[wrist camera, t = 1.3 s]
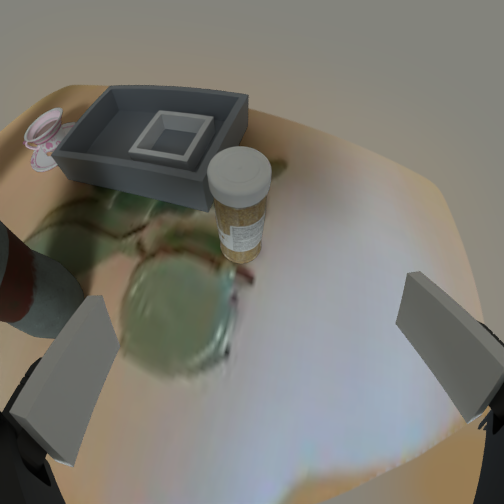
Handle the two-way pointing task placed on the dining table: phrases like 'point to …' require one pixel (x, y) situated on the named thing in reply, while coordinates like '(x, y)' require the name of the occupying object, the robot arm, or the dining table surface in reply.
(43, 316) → the vodka
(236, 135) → the walled box
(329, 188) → the dining table surface
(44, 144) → the teacup
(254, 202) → the sprinkles bottle
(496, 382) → the robot arm
